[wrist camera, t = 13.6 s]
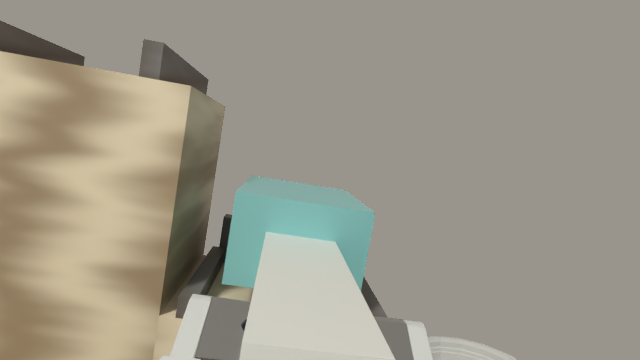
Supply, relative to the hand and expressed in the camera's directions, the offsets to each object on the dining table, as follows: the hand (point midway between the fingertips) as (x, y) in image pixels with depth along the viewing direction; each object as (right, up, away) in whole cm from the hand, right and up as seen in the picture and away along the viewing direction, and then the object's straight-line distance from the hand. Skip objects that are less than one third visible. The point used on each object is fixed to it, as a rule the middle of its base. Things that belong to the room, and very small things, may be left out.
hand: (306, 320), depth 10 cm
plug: (-1, -1, +6) cm, 6 cm away
